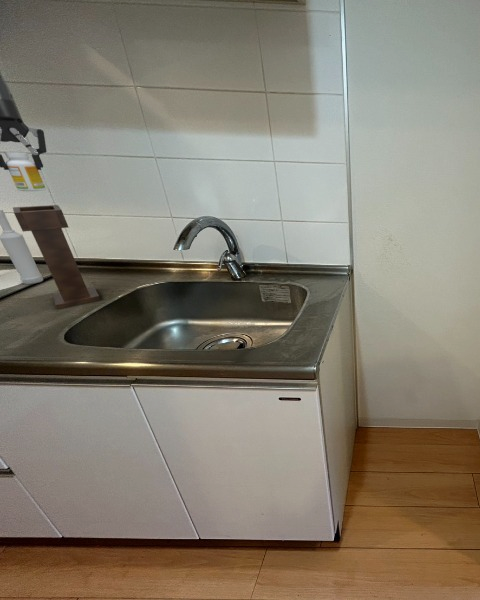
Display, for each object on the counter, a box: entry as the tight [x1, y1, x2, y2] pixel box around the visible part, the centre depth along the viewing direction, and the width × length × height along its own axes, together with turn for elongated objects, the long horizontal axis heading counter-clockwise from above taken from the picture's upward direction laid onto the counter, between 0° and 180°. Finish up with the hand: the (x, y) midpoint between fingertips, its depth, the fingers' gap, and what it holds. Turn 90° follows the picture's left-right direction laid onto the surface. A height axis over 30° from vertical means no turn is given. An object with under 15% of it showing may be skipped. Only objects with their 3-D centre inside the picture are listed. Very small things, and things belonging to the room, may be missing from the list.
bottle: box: [0, 209, 44, 285], centre depth 104 cm, size 5×5×25 cm
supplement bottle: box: [4, 151, 47, 192], centre depth 85 cm, size 5×5×10 cm
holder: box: [12, 204, 101, 310], centre depth 94 cm, size 10×10×29 cm
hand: (23, 169), depth 84 cm, fingers closed on supplement bottle, 5 cm apart
